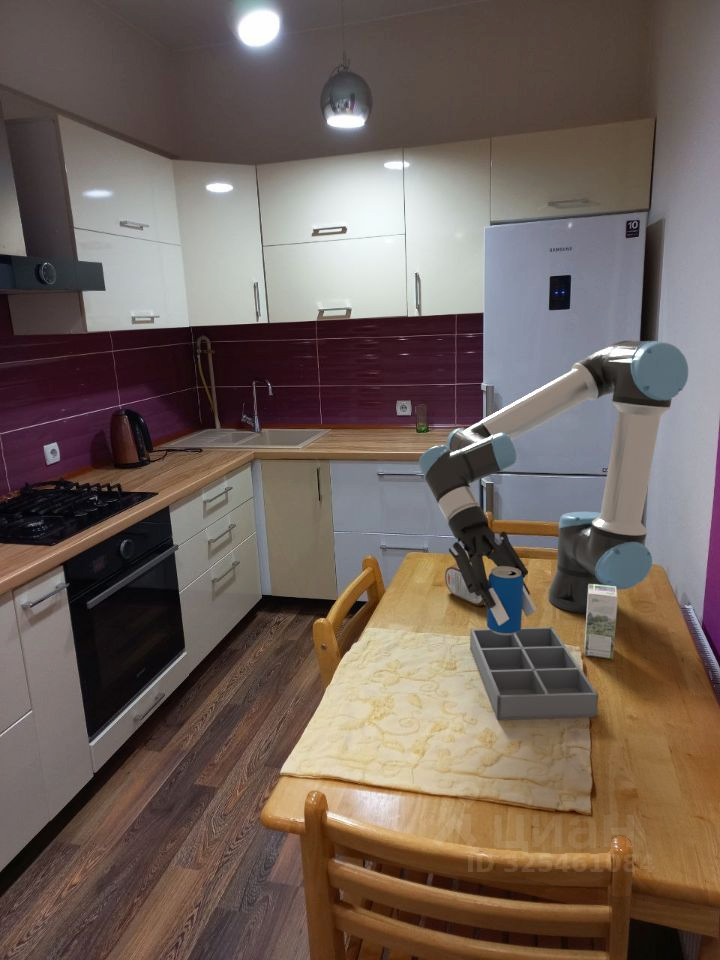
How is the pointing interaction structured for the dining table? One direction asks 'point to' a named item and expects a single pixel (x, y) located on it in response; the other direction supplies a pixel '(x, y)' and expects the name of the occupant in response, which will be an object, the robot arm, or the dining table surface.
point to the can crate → (531, 675)
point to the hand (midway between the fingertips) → (517, 617)
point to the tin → (460, 586)
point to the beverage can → (506, 598)
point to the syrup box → (600, 621)
